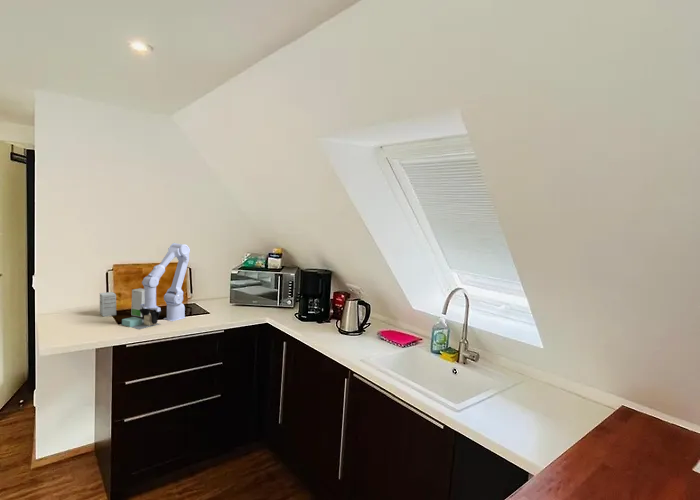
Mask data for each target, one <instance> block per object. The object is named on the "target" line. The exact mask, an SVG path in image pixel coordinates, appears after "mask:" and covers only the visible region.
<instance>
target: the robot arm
mask: <svg viewBox="0 0 700 500" xmlns="http://www.w3.org/2000/svg"><path fill="white" fill-rule="evenodd" d="M190 252H191V249H190V247H189V246H188V245H187V244H185V243H184V244H182V243H175V242H174V243H171V245H170V246H169V247H168V250H167V253H166V254H165V255H164V257H163V259H162V260H161V262H160V263H159V264H156V265H154V266H153V269H152V270H151V271H150V272H149V273H148V275H146V276H145V277H143V280H142V281H141V285H142V286H143V289H145V304H140V308H142V309H140V312H141V314H142V316H143V317H142V319H143V320H144V315H149V312H150V314H151V317H152V323H153V324H156V323H158V319H159V317H160V315H161V313H162V310H161V307H159V306H158V305H157V286H158V285H159V283H160V282H159V281H160V280H161V277H162V276H163V275H164V274H165V272H166V268H167V266H168V265H169V264H170V263H171V262H172V261H173V260H174V259H175V258H176V259H177V261H178V262H177V265H176V269H175V272H174V276H173V279H172V283H171V286H170V287H169V288H167V291H166V293H165V294H164V295H163V300H164V302H165V304H166V317H164V318H163V320H166V321H168V322H169V321H170V322H175V321H179V320H183V319H186V318H187V317H185V316H186V314H185V313H186V312H185V311H186V307H185V304H184V303H183V301H184V291H183V289H182V287H183V283H184V279H185V276H186V273H187V269H188V266H189V261H190Z"/></svg>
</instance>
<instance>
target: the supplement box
mask: <svg viewBox="0 0 700 500" xmlns="http://www.w3.org/2000/svg"><path fill="white" fill-rule="evenodd" d="M99 314H100V315H101V316H102V317H111V316H117V294H116V293H115V292H113V291H110V292H108V291H107V292H100V293H99Z"/></svg>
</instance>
